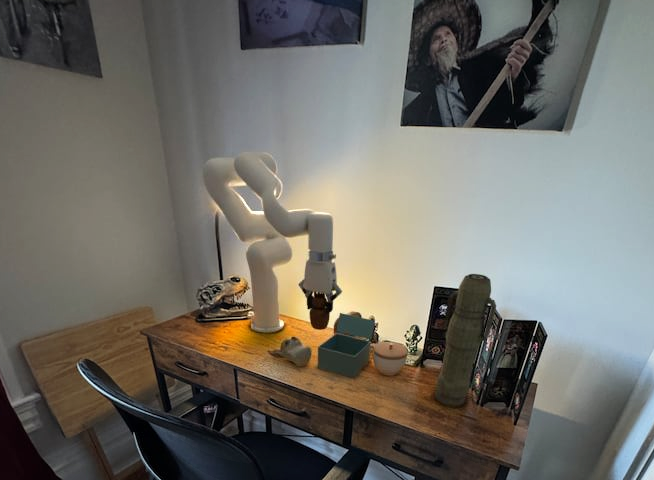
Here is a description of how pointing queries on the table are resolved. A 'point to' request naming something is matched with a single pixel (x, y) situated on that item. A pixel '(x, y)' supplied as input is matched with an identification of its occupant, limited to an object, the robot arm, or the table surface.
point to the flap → (355, 326)
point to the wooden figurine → (319, 312)
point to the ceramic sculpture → (293, 351)
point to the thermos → (463, 337)
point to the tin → (338, 319)
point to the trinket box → (389, 357)
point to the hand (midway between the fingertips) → (319, 309)
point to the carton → (344, 355)
